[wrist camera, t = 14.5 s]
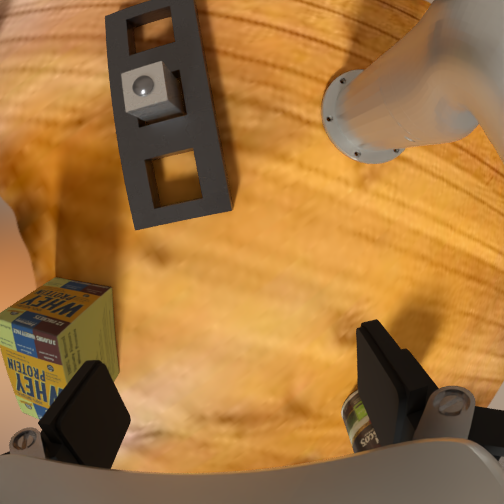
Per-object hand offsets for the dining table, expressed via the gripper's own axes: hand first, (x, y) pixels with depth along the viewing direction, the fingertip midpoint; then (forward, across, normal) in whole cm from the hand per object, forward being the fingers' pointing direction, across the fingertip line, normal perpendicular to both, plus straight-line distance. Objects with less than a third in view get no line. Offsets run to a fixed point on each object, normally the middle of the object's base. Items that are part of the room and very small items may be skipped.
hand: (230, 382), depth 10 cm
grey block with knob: (+30, +7, -18) cm, 36 cm away
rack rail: (+30, +7, -18) cm, 36 cm away
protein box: (+31, +27, +10) cm, 42 cm away
